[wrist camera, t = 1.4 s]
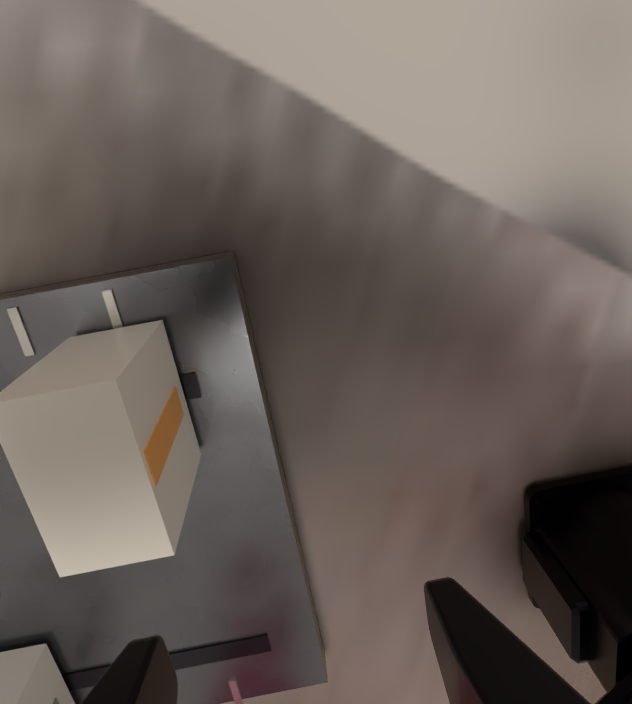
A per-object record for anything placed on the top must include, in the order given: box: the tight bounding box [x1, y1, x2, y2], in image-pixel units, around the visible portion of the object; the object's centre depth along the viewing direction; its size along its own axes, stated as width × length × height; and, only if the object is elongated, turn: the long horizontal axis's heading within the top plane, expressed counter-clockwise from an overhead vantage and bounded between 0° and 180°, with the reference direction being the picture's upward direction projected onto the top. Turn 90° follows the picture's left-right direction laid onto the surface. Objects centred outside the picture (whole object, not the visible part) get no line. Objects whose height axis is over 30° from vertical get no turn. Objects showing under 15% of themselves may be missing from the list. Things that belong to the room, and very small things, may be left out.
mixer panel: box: [0, 251, 328, 704], centre depth 20 cm, size 17×20×2 cm
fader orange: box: [0, 320, 201, 577], centre depth 15 cm, size 3×5×5 cm, turn 10°
